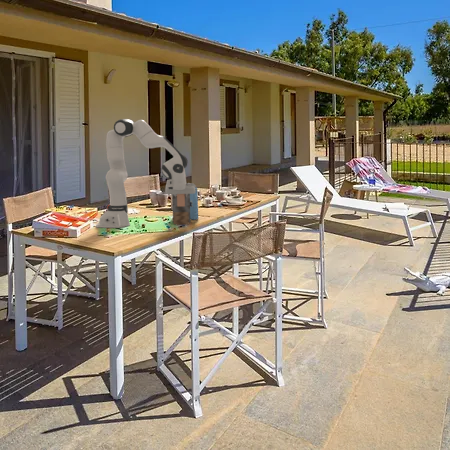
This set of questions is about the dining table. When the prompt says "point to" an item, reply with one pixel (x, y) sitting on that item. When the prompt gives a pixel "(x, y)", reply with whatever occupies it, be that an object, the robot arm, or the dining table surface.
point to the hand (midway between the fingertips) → (180, 196)
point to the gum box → (194, 205)
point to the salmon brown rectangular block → (180, 200)
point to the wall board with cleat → (181, 211)
